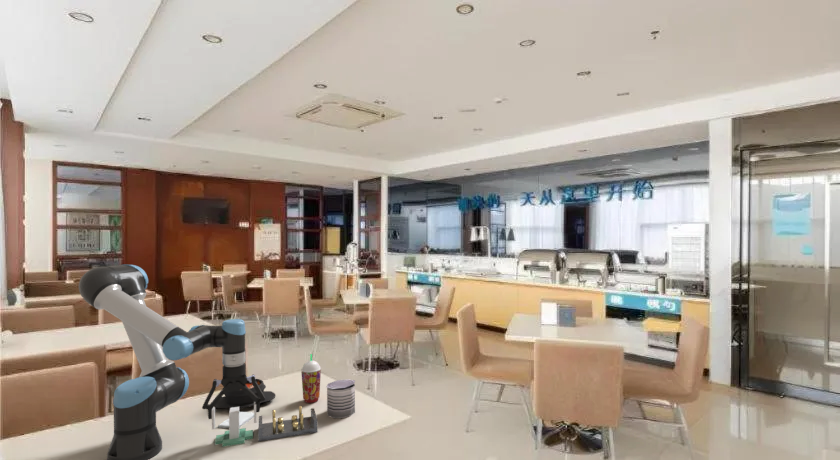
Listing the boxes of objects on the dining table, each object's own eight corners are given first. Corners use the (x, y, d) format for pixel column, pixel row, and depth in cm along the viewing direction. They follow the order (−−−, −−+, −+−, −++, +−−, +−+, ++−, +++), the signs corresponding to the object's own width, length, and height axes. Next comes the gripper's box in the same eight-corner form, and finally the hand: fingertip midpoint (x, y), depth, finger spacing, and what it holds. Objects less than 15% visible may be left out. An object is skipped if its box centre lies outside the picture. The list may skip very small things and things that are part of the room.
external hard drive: (256, 416, 172) (237, 430, 159) (237, 415, 173) (217, 429, 161) (256, 412, 172) (237, 426, 159) (237, 411, 173) (217, 424, 161)
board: (214, 448, 145) (214, 418, 145) (217, 435, 155) (217, 407, 155) (252, 442, 149) (252, 412, 149) (253, 430, 159) (252, 402, 159)
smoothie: (299, 398, 188) (299, 353, 189) (319, 395, 192) (318, 350, 192) (303, 405, 181) (302, 357, 181) (323, 402, 184) (322, 355, 185)
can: (340, 420, 166) (339, 389, 166) (320, 413, 173) (320, 383, 173) (361, 411, 175) (361, 381, 175) (342, 404, 182) (341, 376, 182)
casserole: (274, 392, 197) (274, 373, 197) (276, 407, 180) (276, 387, 180) (214, 400, 188) (214, 380, 188) (210, 416, 171) (210, 395, 171)
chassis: (258, 441, 150) (258, 422, 150) (258, 428, 160) (258, 410, 160) (317, 432, 156) (317, 414, 156) (314, 419, 167) (314, 403, 167)
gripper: (192, 371, 145) (193, 435, 144) (271, 362, 153) (272, 423, 153) (196, 365, 152) (196, 425, 151) (271, 357, 160) (271, 414, 160)
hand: (234, 424), depth 152 cm, fingers open, 13 cm apart
